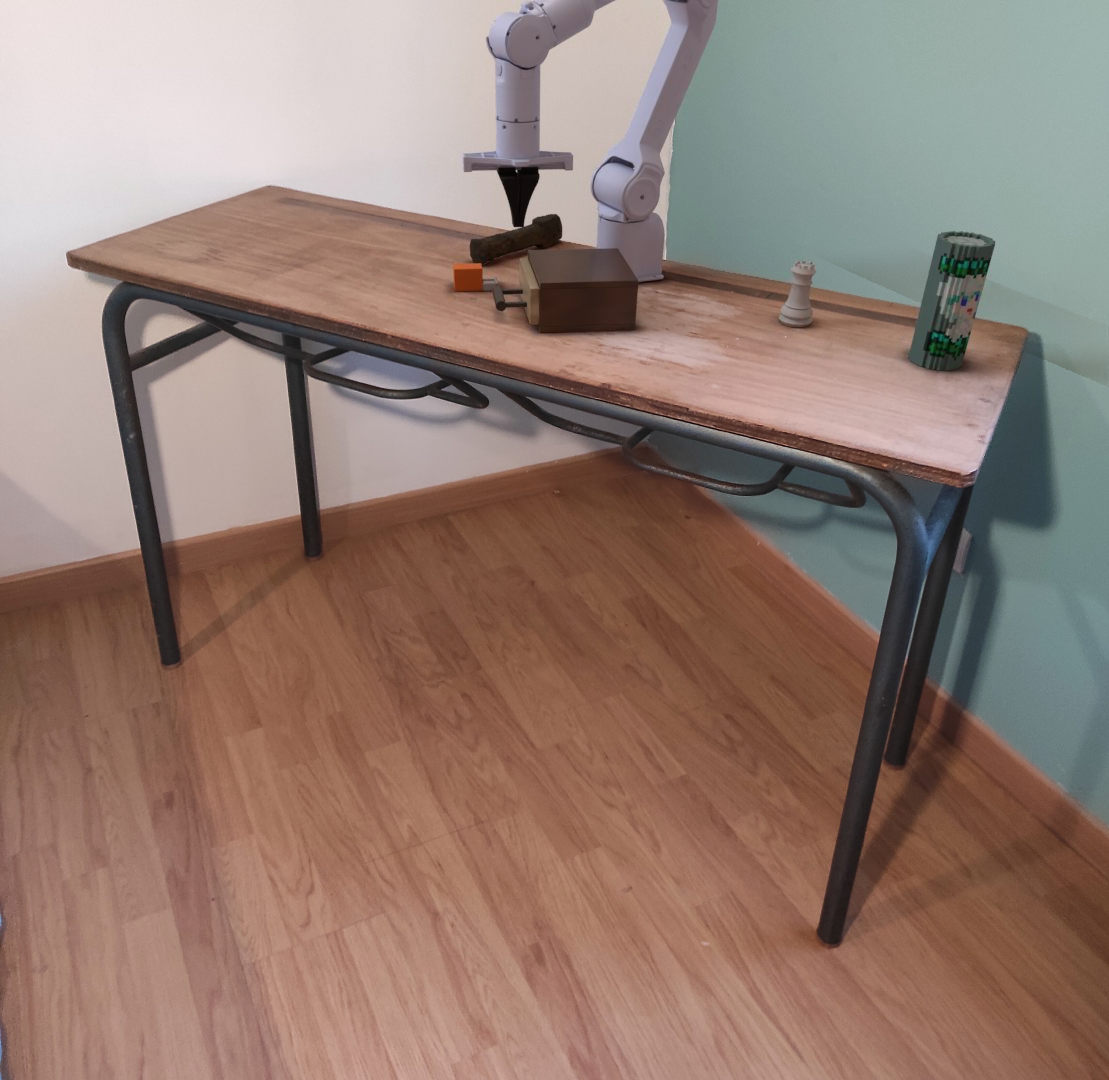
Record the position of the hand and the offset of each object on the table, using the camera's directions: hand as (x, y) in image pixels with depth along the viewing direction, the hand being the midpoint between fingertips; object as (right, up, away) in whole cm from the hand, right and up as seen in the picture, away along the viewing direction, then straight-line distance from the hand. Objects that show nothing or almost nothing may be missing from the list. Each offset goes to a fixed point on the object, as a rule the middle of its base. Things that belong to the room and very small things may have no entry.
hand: (518, 225), depth 132 cm
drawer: (+5, -12, -2) cm, 13 cm away
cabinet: (+8, -12, -1) cm, 15 cm away
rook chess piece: (+37, -14, -2) cm, 40 cm away
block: (-6, -7, +6) cm, 11 cm away
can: (+52, -21, -12) cm, 58 cm away
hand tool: (-1, +2, +21) cm, 21 cm away
